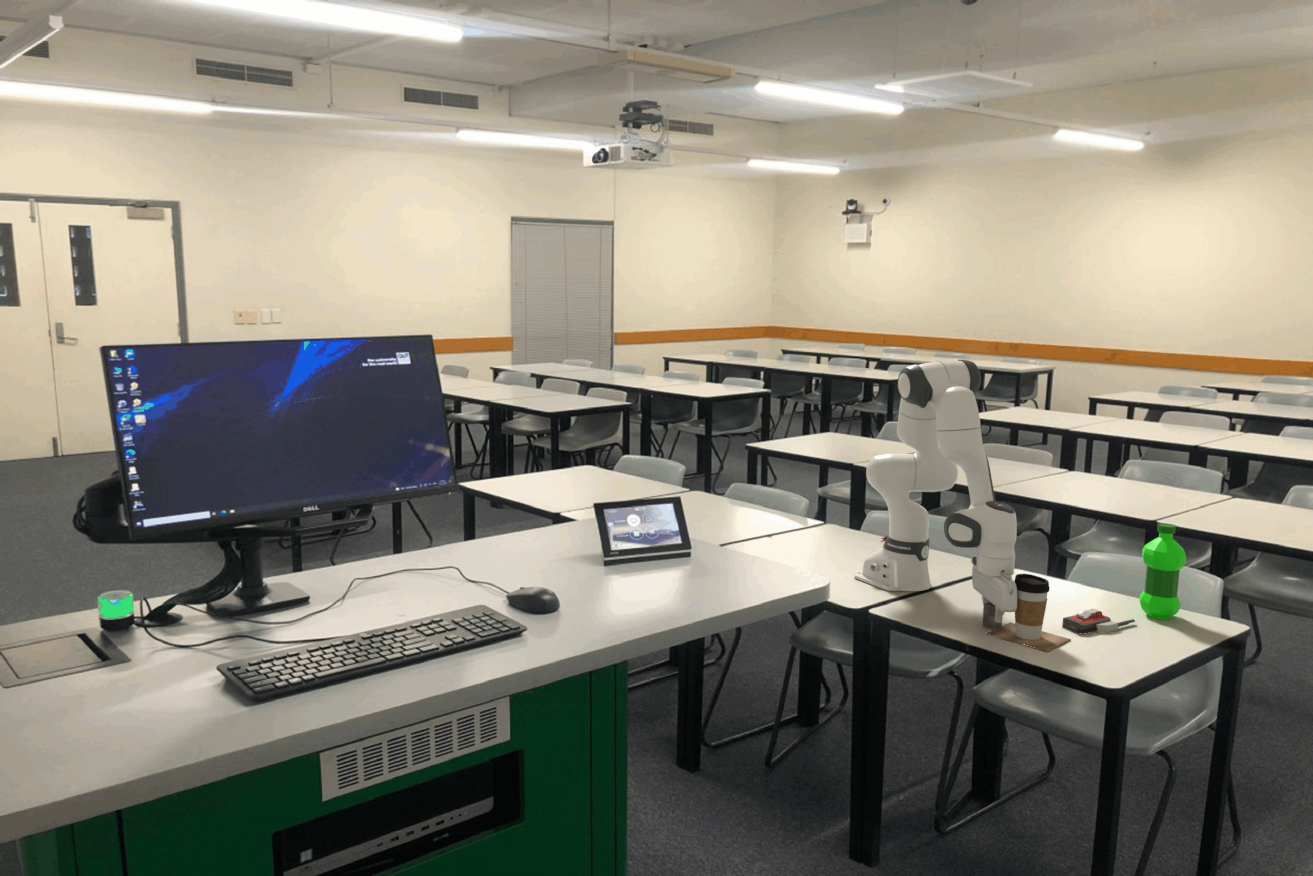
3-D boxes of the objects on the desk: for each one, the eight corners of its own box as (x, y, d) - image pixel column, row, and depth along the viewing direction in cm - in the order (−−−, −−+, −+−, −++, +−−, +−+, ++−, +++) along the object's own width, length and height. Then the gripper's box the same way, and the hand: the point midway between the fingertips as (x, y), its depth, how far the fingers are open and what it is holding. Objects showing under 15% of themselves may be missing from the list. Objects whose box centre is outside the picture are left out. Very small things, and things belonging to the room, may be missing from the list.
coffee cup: (1019, 627, 246) (1023, 571, 244) (1051, 636, 240) (1056, 578, 238) (1003, 635, 240) (1007, 577, 238) (1037, 644, 235) (1041, 585, 232)
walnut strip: (973, 630, 245) (975, 607, 244) (997, 619, 253) (999, 597, 252) (1047, 652, 231) (1049, 627, 230) (1070, 640, 238) (1072, 616, 238)
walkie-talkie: (1086, 639, 240) (1137, 627, 250) (1087, 622, 240) (1139, 610, 249) (1056, 628, 248) (1107, 616, 257) (1058, 612, 247) (1109, 601, 257)
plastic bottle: (1141, 607, 264) (1149, 518, 260) (1184, 615, 258) (1193, 525, 254) (1132, 616, 257) (1140, 525, 253) (1175, 625, 250) (1184, 532, 246)
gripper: (1025, 577, 235) (1022, 631, 237) (992, 554, 255) (989, 604, 257) (1000, 577, 235) (997, 631, 237) (968, 554, 255) (965, 604, 257)
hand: (992, 617), depth 247 cm, fingers closed on walnut strip, 5 cm apart
